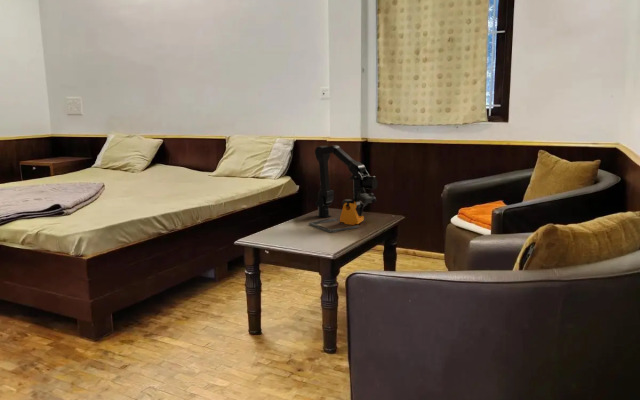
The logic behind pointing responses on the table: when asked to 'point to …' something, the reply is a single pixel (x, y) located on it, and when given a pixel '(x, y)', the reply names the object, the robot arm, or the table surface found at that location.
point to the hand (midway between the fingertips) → (359, 216)
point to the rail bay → (329, 229)
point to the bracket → (350, 214)
